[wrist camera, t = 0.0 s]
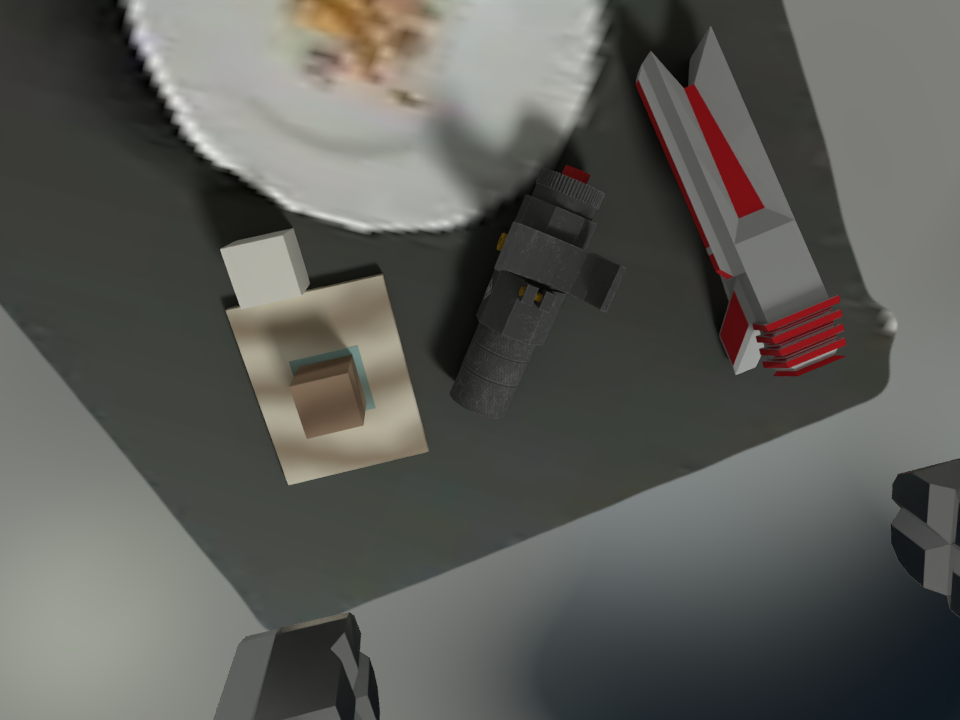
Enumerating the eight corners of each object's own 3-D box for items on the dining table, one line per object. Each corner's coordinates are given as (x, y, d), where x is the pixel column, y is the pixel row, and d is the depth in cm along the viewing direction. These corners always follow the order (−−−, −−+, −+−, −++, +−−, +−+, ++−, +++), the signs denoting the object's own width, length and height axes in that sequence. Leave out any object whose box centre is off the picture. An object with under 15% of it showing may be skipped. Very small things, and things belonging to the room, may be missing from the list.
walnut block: (298, 367, 56) (289, 386, 51) (352, 354, 56) (347, 373, 51) (314, 415, 57) (306, 439, 53) (366, 403, 58) (363, 425, 53)
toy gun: (668, 103, 62) (724, 17, 47) (777, 357, 61) (870, 352, 46) (605, 130, 62) (641, 51, 47) (713, 384, 61) (785, 387, 46)
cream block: (236, 240, 52) (219, 249, 48) (293, 228, 53) (282, 235, 48) (255, 295, 54) (241, 309, 50) (310, 283, 54) (301, 295, 50)
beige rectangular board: (228, 307, 54) (225, 310, 53) (382, 273, 55) (382, 275, 54) (290, 479, 60) (288, 485, 59) (428, 446, 61) (428, 451, 60)
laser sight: (427, 375, 59) (432, 417, 49) (518, 147, 53) (544, 146, 44) (518, 406, 61) (540, 452, 52) (615, 190, 55) (659, 198, 46)
